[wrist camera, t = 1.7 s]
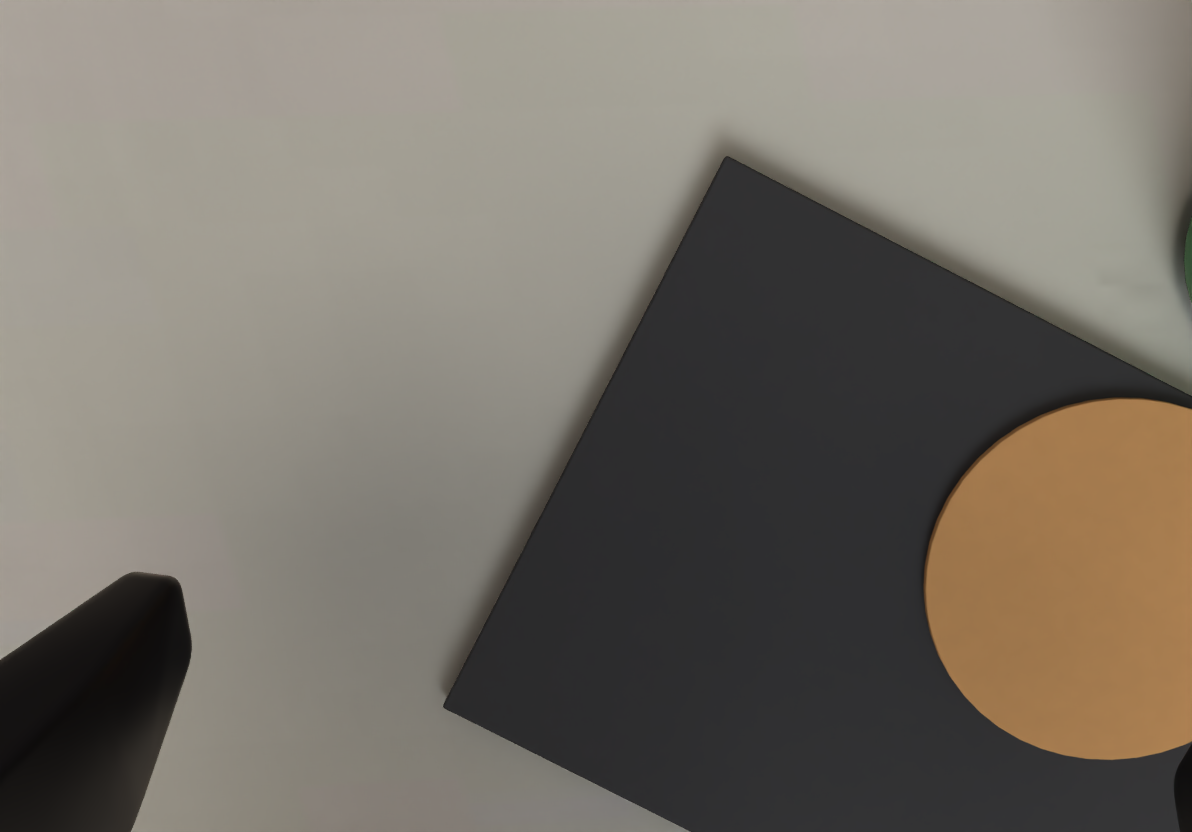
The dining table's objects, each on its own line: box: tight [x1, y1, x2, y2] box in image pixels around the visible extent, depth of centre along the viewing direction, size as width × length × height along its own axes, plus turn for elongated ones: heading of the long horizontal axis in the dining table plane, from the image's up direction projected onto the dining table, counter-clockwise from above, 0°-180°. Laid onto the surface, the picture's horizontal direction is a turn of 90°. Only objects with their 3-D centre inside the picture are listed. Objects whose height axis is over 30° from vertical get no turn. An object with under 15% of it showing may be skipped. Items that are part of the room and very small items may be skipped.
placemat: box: [443, 156, 1192, 832], centre depth 24 cm, size 13×22×1 cm, turn 63°
